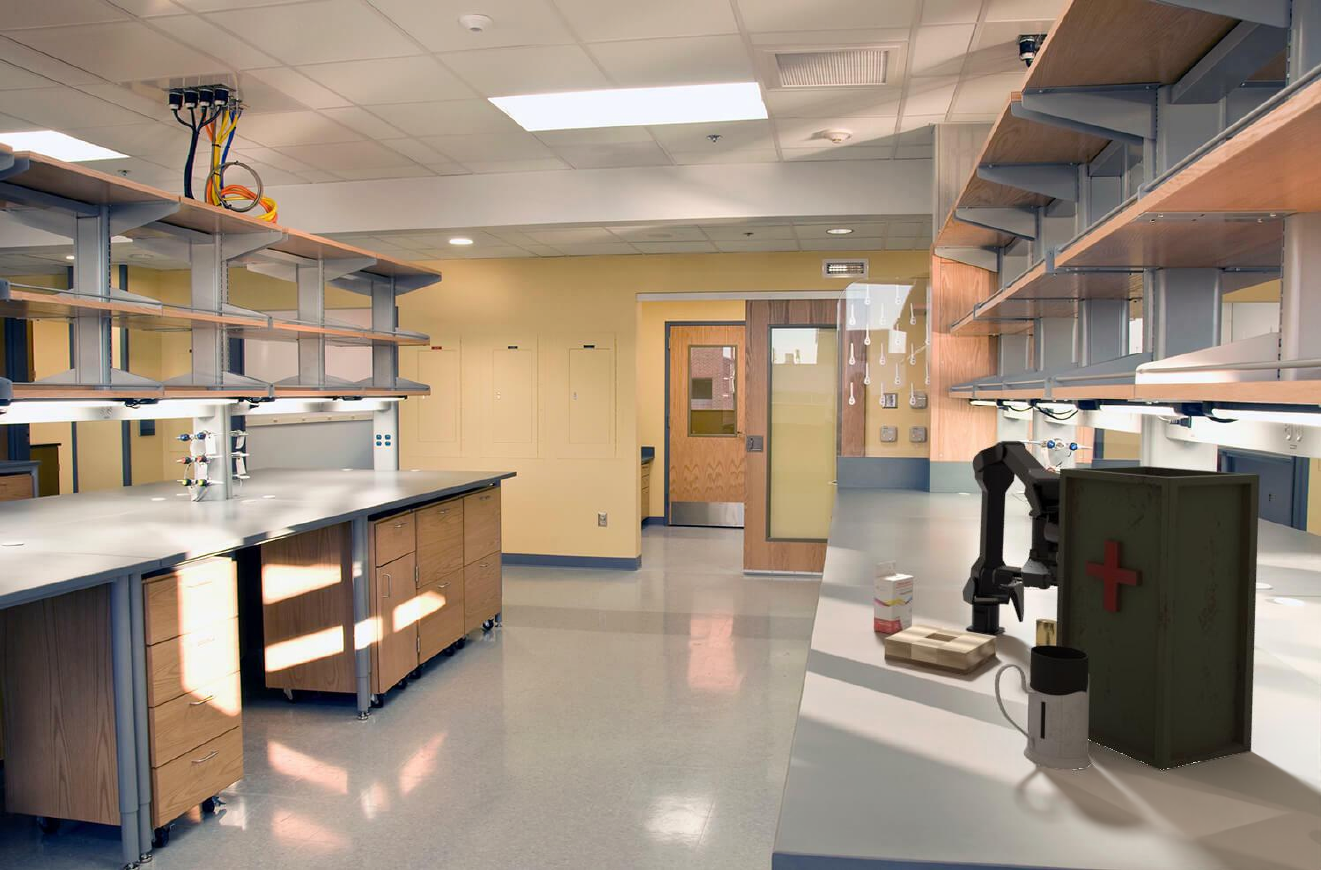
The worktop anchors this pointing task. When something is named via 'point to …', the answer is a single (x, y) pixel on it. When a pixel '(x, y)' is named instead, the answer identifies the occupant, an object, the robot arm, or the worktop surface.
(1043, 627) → the pin
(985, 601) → the robot arm
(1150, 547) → the first aid box
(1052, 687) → the glass holder
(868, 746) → the worktop surface
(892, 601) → the ink cartridge box
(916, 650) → the bore block
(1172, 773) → the worktop surface
